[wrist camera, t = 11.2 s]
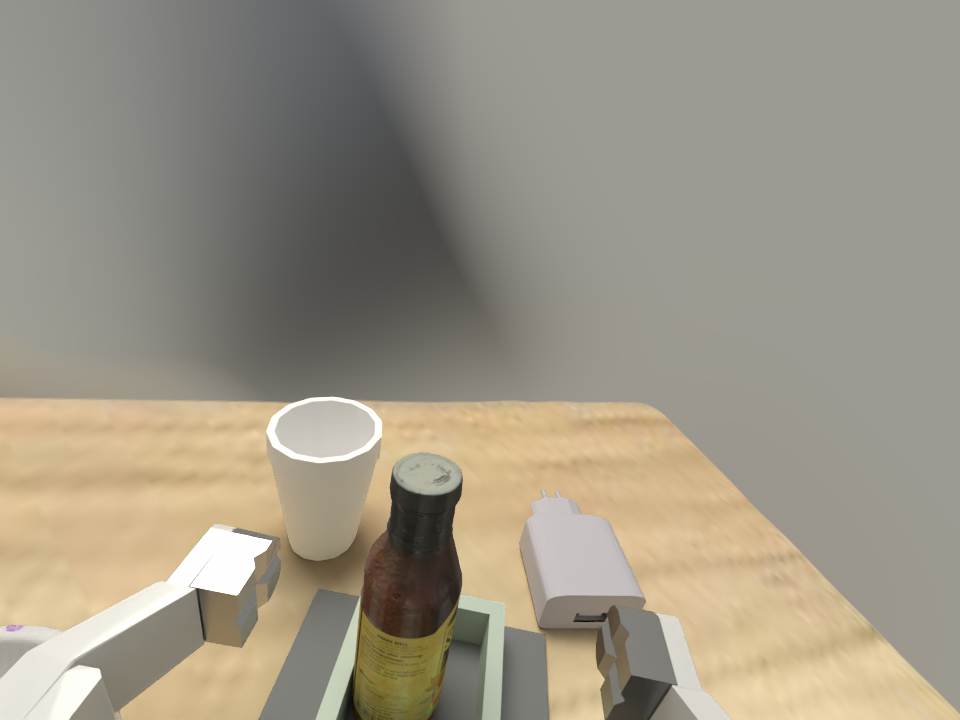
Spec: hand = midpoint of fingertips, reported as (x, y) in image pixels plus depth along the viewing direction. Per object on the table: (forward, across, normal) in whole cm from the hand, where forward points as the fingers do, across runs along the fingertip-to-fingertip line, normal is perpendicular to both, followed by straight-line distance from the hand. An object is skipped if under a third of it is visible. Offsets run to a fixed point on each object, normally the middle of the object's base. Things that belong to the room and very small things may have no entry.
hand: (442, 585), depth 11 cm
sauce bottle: (+11, +2, +28) cm, 30 cm away
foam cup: (+24, +12, +28) cm, 39 cm away
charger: (+27, -12, +28) cm, 41 cm away
